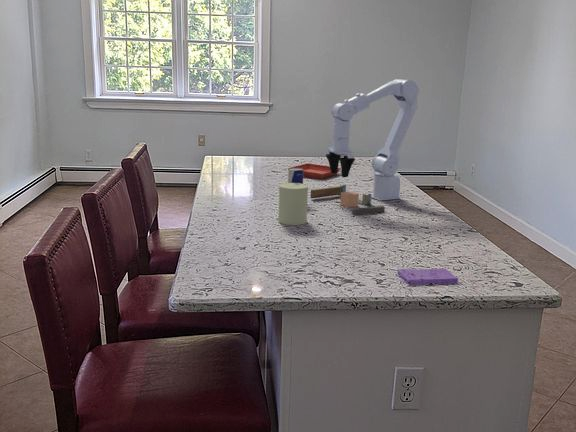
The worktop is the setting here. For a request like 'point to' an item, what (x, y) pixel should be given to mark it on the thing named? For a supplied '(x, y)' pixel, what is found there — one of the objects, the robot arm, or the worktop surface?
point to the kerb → (368, 210)
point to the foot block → (349, 199)
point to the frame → (364, 201)
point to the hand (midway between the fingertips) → (339, 175)
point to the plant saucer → (315, 170)
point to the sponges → (426, 276)
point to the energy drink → (295, 175)
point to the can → (293, 203)
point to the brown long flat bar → (325, 192)
